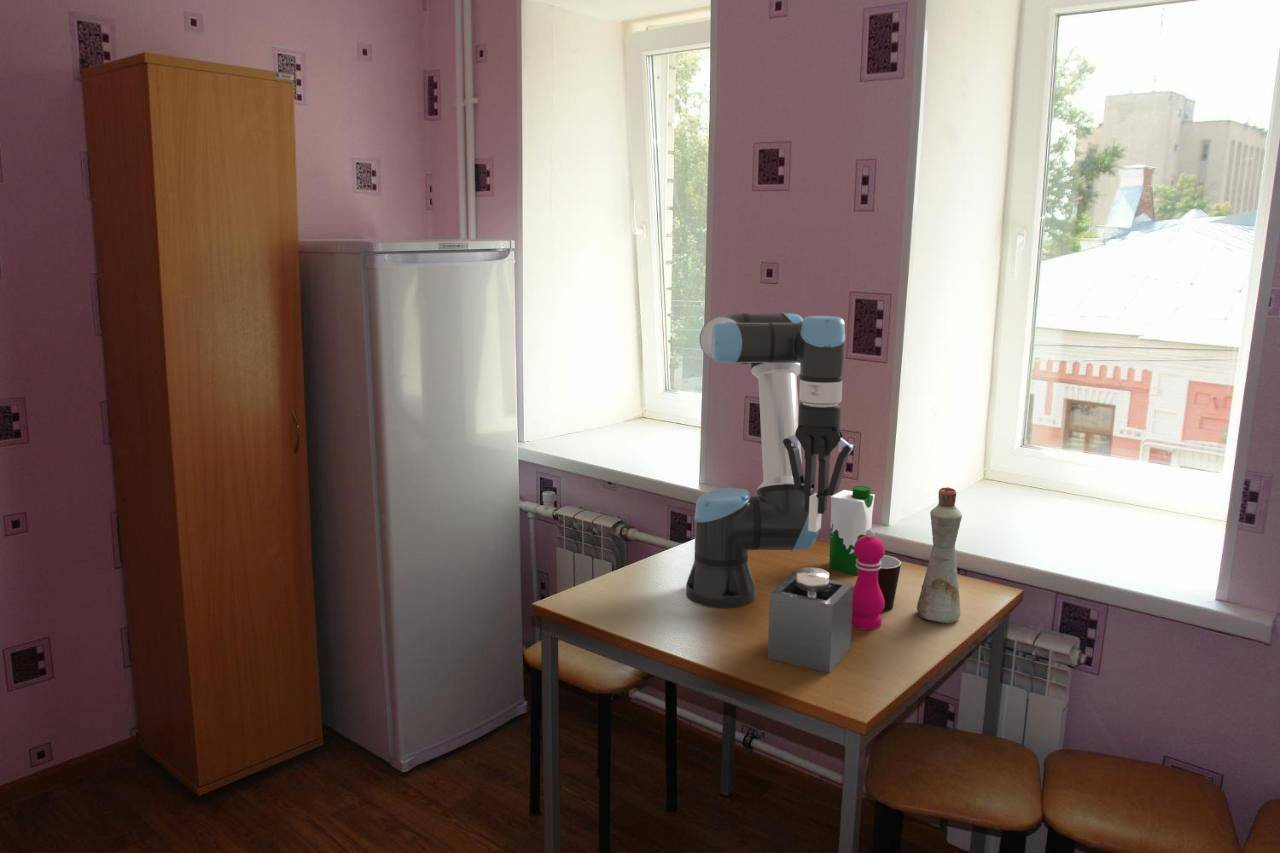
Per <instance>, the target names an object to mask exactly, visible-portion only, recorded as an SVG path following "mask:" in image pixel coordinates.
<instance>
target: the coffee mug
mask: <svg viewBox="0 0 1280 853" xmlns="http://www.w3.org/2000/svg"><path fill="white" fill-rule="evenodd" d="M880 561H881V569H879V572H878V583H879V587H880V589H881V592H882V594H883V597H884V602H885V607H884V610H883V611H882V612H883V613H884V612H889V611H892V610H893V609H894V603H895V598H896V593H897V588H898V582H899V579H900V574H901V573H900V572H901V566H902V562H901V560H899V559H898V558H896V557H894V556H889V555H885V554H884V556H883V557H882V558H881V559H880ZM882 612H881V613H882Z"/></svg>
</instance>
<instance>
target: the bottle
mask: <svg viewBox="0 0 1280 853" xmlns="http://www.w3.org/2000/svg"><path fill="white" fill-rule="evenodd" d="M956 499H957V491H956V489H954V488H952V487H949V486H946V487H940V489H939V490H938V504H937V505H936V506H935V507H934V508H932V509H931V510H930V512H929V514H930V524H931V535H932V547H931V551H930V555H929V559H928V562H927V566H926V571H925V574H924V575H925V576H924V579H923V582H922V585H921V591H920V594H919V597H918V600H917V605H916V611H917V615H918V616H919V617H920V618H922V619H924V620H929V621H932V622H937V623H941V624H950V625H951V624H952V623H954V622H955V623H956V622H957V621H958V620H959V619H960V617H961V615H962V614H961V613H962V612H961V601H960V589H959V588H960V585H959V579H958V568H957V555H956V541H957V538H958V535H959V530H960V526H961V522H962V518H963V513H962V512H961V511H960V510H959V507H957V506H956V501H957V500H956Z"/></svg>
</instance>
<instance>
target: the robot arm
mask: <svg viewBox="0 0 1280 853" xmlns="http://www.w3.org/2000/svg"><path fill="white" fill-rule="evenodd" d="M845 328H846V327H845V320H844V319H843V318H842V317H840V316H832V315H809V316H806V317H804V318H802V316H801V315H799V314H796V313H785V312H783V311H782V312H781V311H780V312H779V313H778V312H773V313H772V312H770V313H769V312H768V313H767V312H764V313H763V312H761V313H760V312H759V313H758V312H751V313H750V312H748V313H744V312H743V313H742V312H735V313H734V312H733V313H727V314H724V315H720V316H717V317H715V318H712V319H710V320H708V321H707V322H706V323H705V324H704V325H703V327H702V328H701V331H700V333H699V346H700V348H701V350H702V352H703V353H704V354H705V356H706V357H708V358H710V359H711V360H713V361H714V362H715V363H719V364H720V363H722V364H723V363H724V364H732V365H750V372H751V375H752V376H754V377H755V378H756V379H757V380H758V394H759V395H758V398H759V414H760V418H759V419H760V420H759V421H760V437H761V439H760V440H761V452H762V453H761V456H762V457H761V460H762V475H763V476H762V478H763V482H762V483H761V484H760V485H759V486H758V487H757V488H756V493H757V494H756V496H752V495H751V494H750V491H749V490H748V489H746V488H741V487H740V488H739V487H738V488H737V487H723V488H722V487H721V488H717V489H712V490H709V491H706V492H704V493H703V494H701V495H700V496H699V497H698V498H697V500H696V503H695V514H694V518H693V519H694V522H695V525H694V526H695V528H694V561H693V564H692V566H691V569H690V573H689V575H688V577H687V581H686V584H685V595H686V597H687V599H688V600H689V601H691V602H693V603H695V604H697V605H700V606H704V607H709V608H721V609H723V608H724V609H725V608H726V609H727V608H738V607H742V606H746V605H748V604H750V603H752V602H753V601H754V600H755V598H756V584H755V581H754V578H753V575H752V574H753V573H752V572H751V568H750V565H749V551H791V552H793V551H799V550H800V551H801V550H808V549H810V548H812V547H813V546H814V544H815V543H816V540H817V537H818V535H819V530H821V529H822V515H823V514H825V513H826V512H827V510H828V509H827V508H828V496H833V495H835V494H837V493H838V491H839V488H840V485H841V481H842V478H843V475H844V471H845V468H846V465H847V462H848V458H849V456H850V454H852V451H854V449H855V445H854V443H849V442H847V440H845V439H844V438H843V433H842V431H841V422H842V421H841V420H842V419H841V418H842V417H841V416H842V406H841V404H840V403H841V402H842V399H843V376H844V375H843V373H844V354H845V343H846V334H845V333H846V331H845V330H846V329H845ZM798 376H799V390H798V380H797V379H798V378H797V377H798ZM798 391H799V392H798ZM798 394H799V395H798ZM799 402H801V403H799ZM837 446H838V449H837V450H838V452H839V453H838V455H837V458H836V461H835V465H834V468H833V472H832V474H831V478H830V464H831V463H830V462H831V457H832V452H833V451H834V450H835V448H836V447H837ZM802 449H803V451H804V461H805V463H804V469H803V461H802V458H803V457H802ZM817 460H818V474H817V476H818V478H817V480H818V481H817V489H816V470H817ZM816 491H817V492H816Z"/></svg>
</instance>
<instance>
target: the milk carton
mask: <svg viewBox="0 0 1280 853" xmlns="http://www.w3.org/2000/svg"><path fill="white" fill-rule="evenodd" d="M875 497H876V494H871V487H868V486H864V485H863V486H862V485H859V486H858V485H856V486H854V487H852V491H851V490H848V489H847V490H846V489H843V490H841V491H839V492H836V493H835V494H833V495H830V506H831V507H830V508H831V509H830V510H831V512H830V534H829V561H828V563H829V565H828V566H829V567H828V569H829V570H831V571H836V572H840V573H845V574H848V575H854V576H858V568H857V567H856V559H857V556H856V555H855V553H854V545H855V543H856V541H857V540H858V539H859V538H861V537H864V536H866V531H867V530H869V529H871V530H872V523H873V510H874V503H875Z"/></svg>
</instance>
